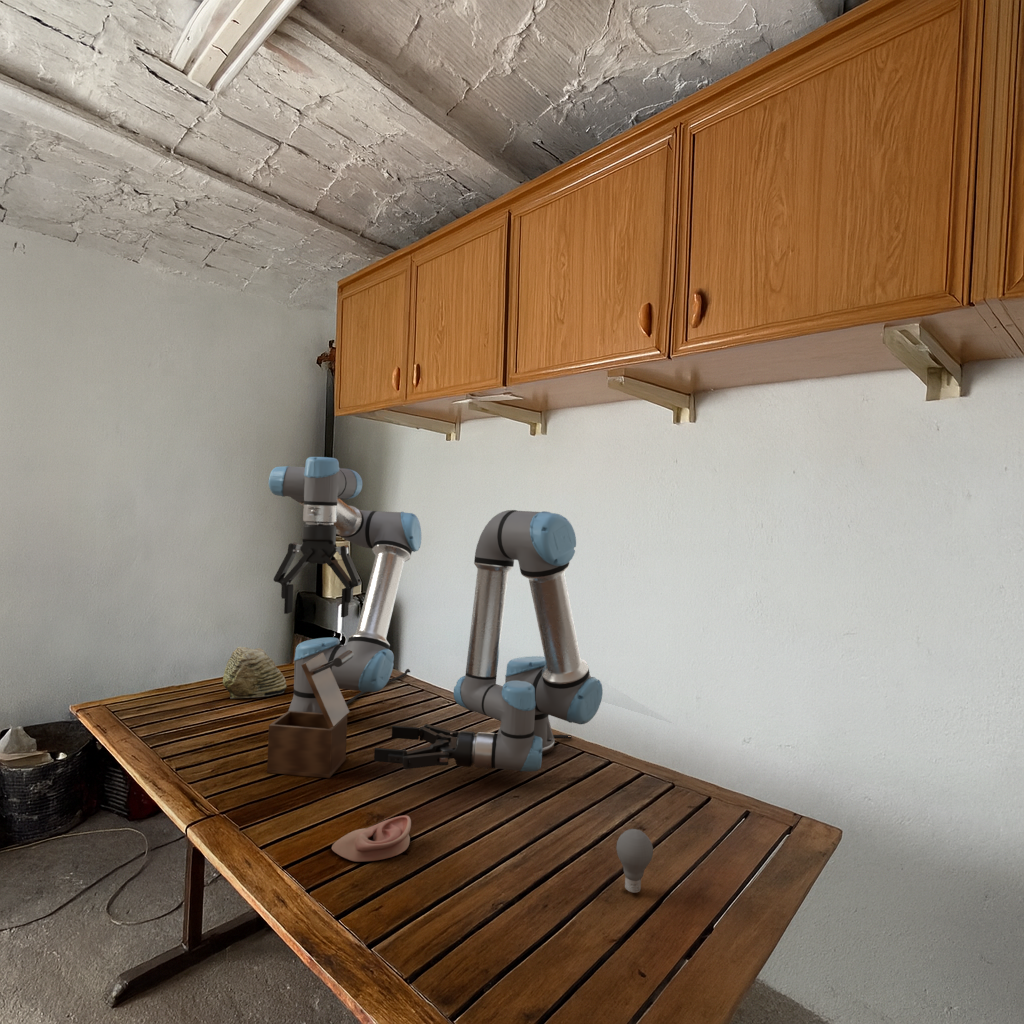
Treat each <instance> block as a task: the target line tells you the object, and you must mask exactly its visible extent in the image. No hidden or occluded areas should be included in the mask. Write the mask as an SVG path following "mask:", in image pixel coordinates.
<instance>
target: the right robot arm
mask: <svg viewBox="0 0 1024 1024" xmlns="http://www.w3.org/2000/svg"><path fill="white" fill-rule="evenodd" d="M576 547H577V537H576V532H575V529H574V527H573V525H572V523H571V522H570V520H568V518H566V517H565V516H564V515H562V514H559V513H556V512H555V513H554V512H550V511H544V510H543V511H531V510H530V511H529V510H516V509H507V510H504V511H501V512H498V513H497V514H496V515H494V516H493V517H492V518H491V519H490V520H489V521H488V522H487V523H486V525H485V526H484V527H483V530H482V532H481V534H480V535H479V537H478V541H477V543H476V548H475V552H474V562H473V564H474V565H475V567H476V570H477V572H476V580H475V588H474V598H473V606H472V615H471V623H470V630H469V631H470V632H469V641H468V649H467V657H466V658H467V659H466V666H465V675H463V676H461V677H459V678H458V680H457V681H456V684H455V686H454V687H453V699H454V701H455V702H456V704H457V705H459V706H460V707H462V708H464V709H465V710H468V711H470V712H474V713H477V714H481V715H484V716H486V717H489V718H492V719H494V720H497V721H500V725H499V728H498V731H497V733H496V732H483V731H478V732H477V733H475V732H474V731H466V730H461V731H456V730H449V729H446V728H443V727H440V726H436V725H432V724H428V723H425V724H424V725H423V726H420V727H415V726H402V725H401V726H400V725H392V726H391V739H401V740H402V739H403V740H413V741H414V740H415V741H418V740H419V741H420V742H421V741H425V742H427V743H429V744H430V745H429V746H428V747H423V748H418V749H414V750H413V749H412V750H409V751H408V750H407V749H405V748H403V749H395V748H382V747H374V750H373V751H374V753H373V762H377V763H390V764H391V763H392V764H401V765H402V768H403V770H411V769H421V768H428V767H437V766H449V761H450V759H451V760H452V759H454V762H455V765H456V766H458V767H467V768H471V767H473V765H474V767H475V768H483V769H484V770H489V769H496V770H506V771H508V770H509V771H517V772H537V771H540V769H541V768H542V764H543V763H542V762H543V756H545V755H547V754H549V753H551V752H552V751H554V749H555V739H559V740H560V739H561V740H572V738H573V737H572V735H571V734H554V733H553V729H552V727H551V723H550V718H549V716H551V717H553V718H557V719H559V720H563V721H565V722H568V723H571V724H576V725H585V724H588V723H589V722H590V721H591V720H593V718H594V717H595V716H596V714H598V713H597V712H598V711H599V709H600V706H601V704H602V700H603V690H604V689H603V684H602V682H601V680H600V679H598V678H597V677H595V676H591V674H590V672H591V671H590V667H589V665H588V662H587V661H586V660H585V659H583V658H582V657H581V654H580V653H581V652H580V648H579V642H578V636H577V631H576V626H575V620H574V615H573V610H572V605H571V600H570V595H569V588H568V583H567V578H566V571H567V570H568V569H569V567H570V564H571V563H570V562H571V560H572V559H573V557H574V556H575V553H576V550H575V548H576ZM515 561H517V562H518V566H519V571H520V575H522V577H524V578H526V579H528V582H529V583H528V584H529V587H530V592H531V597H532V602H533V606H534V607H533V608H534V611H535V616H536V621H537V622H536V623H537V627H538V632H539V637H540V641H541V647H542V651H543V656H540V655H539V656H538V655H536V656H535V655H532V656H531V655H530V656H521V657H520V656H519V657H515V658H512V659H510V660H509V661H508V662H507V664H506V670H505V676H504V677H505V679H504V680H505V682H504V683H503V685H500V684H497V676H498V675H497V674H498V666H499V658H500V648H501V639H502V632H503V624H504V623H503V622H504V614H505V607H506V606H505V605H506V598H507V590H508V589H507V588H508V580H509V572H511V571H512V570H513V569H514V564H515ZM568 736H571V737H568Z"/></svg>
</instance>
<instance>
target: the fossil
mask: <svg viewBox="0 0 1024 1024" xmlns="http://www.w3.org/2000/svg"><path fill="white" fill-rule="evenodd" d="M222 676H223V677H222V685H223V687H224V688H225V690H226V691H228V693H229V698H230V699H250V698H264V697H271V696H275V695H281V694H284V693H285V691H286V689H287V687H288V686H287V680H286V678H285V676H284V674H283V673H282V672H281V669H279V668H278V667H277V665H276V663H275V662H274V660H273V659H272V658H271V657H270V656H269V655H268V654H267V653H266V652H265V650H264V649H263V648H260V647H258V648H251V647H247V646H246V647H245V646H238V647H237V648H236V649H235V650H233V651H232V653H231V656H230V657H229V659H228V660H227V663H226V666H225V668H224V671H223V675H222Z"/></svg>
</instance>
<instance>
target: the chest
mask: <svg viewBox="0 0 1024 1024" xmlns="http://www.w3.org/2000/svg"><path fill="white" fill-rule="evenodd" d="M347 733H348V714H346V715H345V716H344V717H343V718H342V719H341V720H340V721H339V722H338V723H337V724H336V725H335V726H334V727H331V728H329V727H328V724H327V722H326V720H325V718H324V715H323V713H313V712H300V711H286V712H285V713H284V714H282V715H281V716H280V717H278V718H277V719H276V720H274V721H272V722H271V723H270V724H269V725H268V739H267V765H266V769H267V770H266V773H267V774H278V775H290V776H299V777H310V778H312V777H313V778H323V779H324V778H325V779H330V778H331V777H332V776H333V775H334V774H335V773H336V771H338V769H340V767H341V766H342V765H343V764H344V762H346V760H347Z"/></svg>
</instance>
